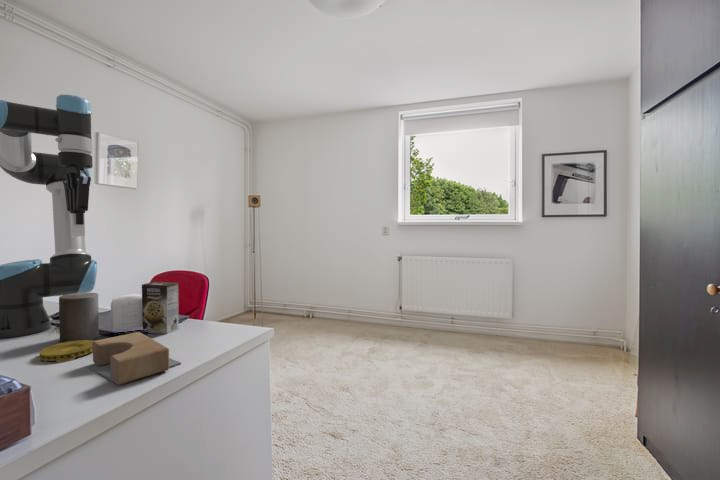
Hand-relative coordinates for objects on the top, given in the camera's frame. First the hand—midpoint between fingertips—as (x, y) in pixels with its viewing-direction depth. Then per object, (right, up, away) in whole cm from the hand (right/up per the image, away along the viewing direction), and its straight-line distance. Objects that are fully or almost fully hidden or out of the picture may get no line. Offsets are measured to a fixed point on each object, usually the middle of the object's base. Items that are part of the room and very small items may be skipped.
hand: (78, 236), depth 99 cm
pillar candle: (-7, -32, +9) cm, 34 cm away
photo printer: (+4, -32, +17) cm, 36 cm away
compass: (0, -33, -3) cm, 33 cm away
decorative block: (+15, -30, -6) cm, 34 cm away
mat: (+24, -33, -11) cm, 42 cm away
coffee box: (+14, -32, +18) cm, 39 cm away
